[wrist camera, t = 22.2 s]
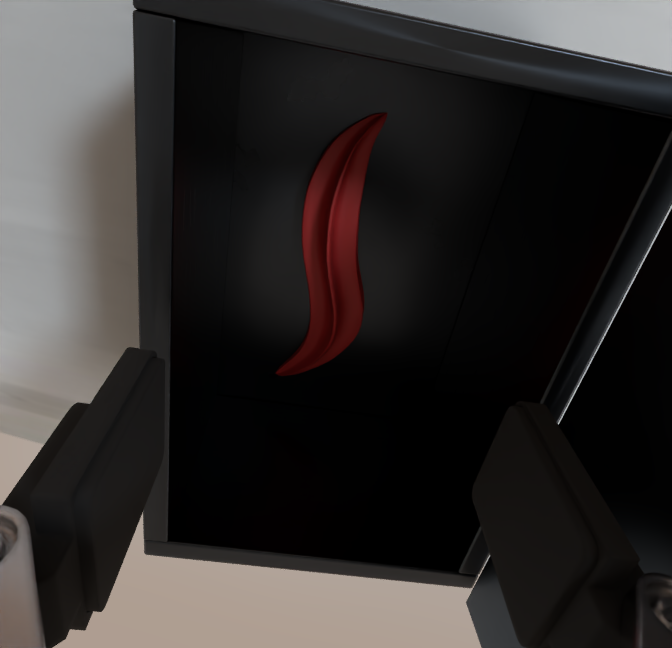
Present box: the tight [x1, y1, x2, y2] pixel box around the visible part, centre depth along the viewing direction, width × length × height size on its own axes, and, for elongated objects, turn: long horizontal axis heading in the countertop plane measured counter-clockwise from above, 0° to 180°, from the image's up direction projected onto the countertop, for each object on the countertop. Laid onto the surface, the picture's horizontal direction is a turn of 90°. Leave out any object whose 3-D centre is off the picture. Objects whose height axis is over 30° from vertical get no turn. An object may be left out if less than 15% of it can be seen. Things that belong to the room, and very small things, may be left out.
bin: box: [133, 0, 672, 588], centre depth 17 cm, size 12×17×9 cm
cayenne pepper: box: [275, 113, 388, 376], centre depth 19 cm, size 12×5×2 cm, turn 153°
